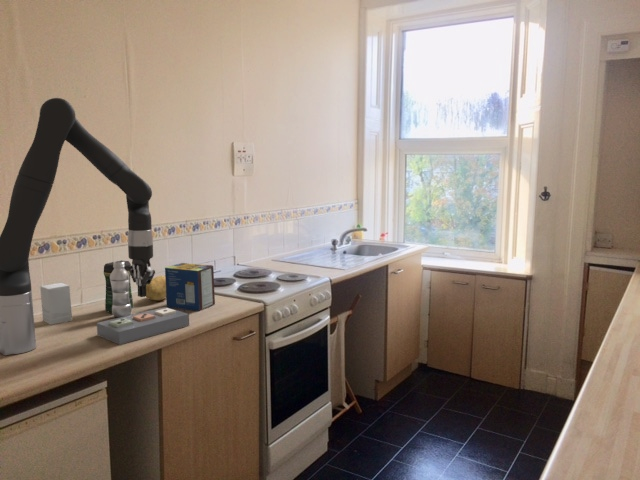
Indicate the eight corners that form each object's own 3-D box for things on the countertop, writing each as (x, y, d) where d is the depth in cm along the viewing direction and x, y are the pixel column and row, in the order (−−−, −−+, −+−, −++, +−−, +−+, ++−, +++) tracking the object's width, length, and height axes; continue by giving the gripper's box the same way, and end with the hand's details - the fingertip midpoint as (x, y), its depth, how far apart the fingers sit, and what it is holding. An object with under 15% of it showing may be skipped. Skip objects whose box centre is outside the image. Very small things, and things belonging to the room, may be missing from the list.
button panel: (119, 344, 158) (119, 331, 158) (97, 335, 167) (96, 322, 167) (189, 325, 177) (188, 314, 176) (165, 317, 186) (165, 306, 185)
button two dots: (118, 338, 163) (117, 324, 162) (110, 335, 166) (109, 321, 165) (133, 334, 166) (132, 320, 166) (125, 331, 170) (124, 317, 169)
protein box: (182, 300, 210) (181, 262, 208) (215, 304, 204) (214, 265, 202) (165, 307, 200) (163, 267, 198) (199, 311, 194) (197, 270, 192)
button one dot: (163, 326, 175) (163, 313, 174) (155, 323, 178) (154, 310, 177) (176, 323, 178) (175, 310, 178) (168, 320, 182) (167, 307, 181)
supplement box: (72, 320, 183) (70, 285, 182) (50, 325, 178) (47, 289, 176) (64, 316, 188) (61, 282, 186) (42, 321, 183) (39, 285, 181)
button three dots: (141, 332, 169) (141, 318, 168) (133, 329, 172) (132, 315, 171) (155, 328, 172) (154, 315, 172) (147, 325, 176) (146, 312, 175)
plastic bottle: (125, 320, 184) (122, 263, 181) (108, 319, 185) (104, 263, 182) (135, 314, 190) (132, 260, 187) (118, 313, 191) (115, 260, 188)
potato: (180, 297, 215) (179, 274, 214) (152, 305, 203) (151, 281, 202) (162, 294, 220) (161, 272, 219) (135, 302, 208) (133, 278, 207)
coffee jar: (117, 314, 190) (114, 264, 188) (101, 312, 194) (98, 262, 191) (137, 308, 199) (134, 260, 196) (121, 305, 202) (119, 258, 200)
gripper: (119, 242, 170) (121, 295, 172) (140, 247, 161) (142, 302, 163) (140, 240, 175) (141, 291, 177) (162, 244, 167) (163, 297, 169)
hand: (142, 296), depth 170 cm, fingers closed
